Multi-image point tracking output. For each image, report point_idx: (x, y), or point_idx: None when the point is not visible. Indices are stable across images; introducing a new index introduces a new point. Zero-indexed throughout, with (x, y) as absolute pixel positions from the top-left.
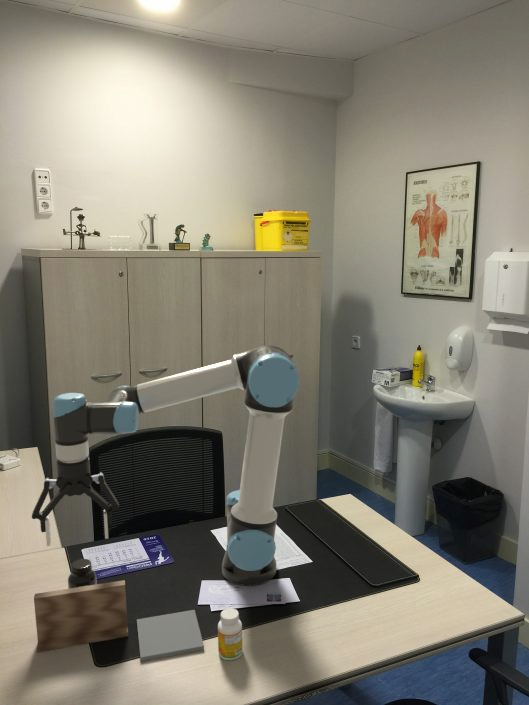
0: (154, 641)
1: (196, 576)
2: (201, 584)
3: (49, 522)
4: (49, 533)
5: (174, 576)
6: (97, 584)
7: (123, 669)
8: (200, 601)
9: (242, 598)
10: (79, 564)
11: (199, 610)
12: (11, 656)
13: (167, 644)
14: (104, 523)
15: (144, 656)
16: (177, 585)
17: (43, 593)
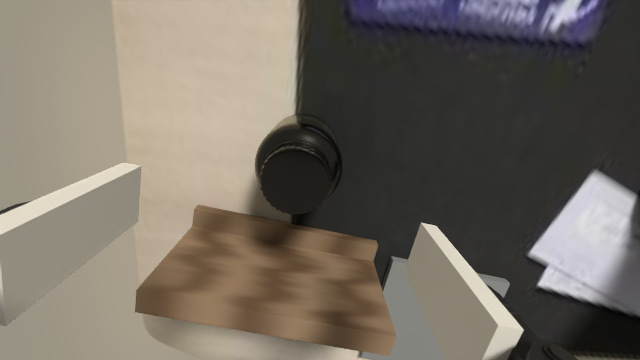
0: (398, 333)
1: (593, 149)
2: (580, 189)
3: (50, 225)
4: (95, 244)
5: (548, 121)
6: (318, 323)
7: (329, 354)
8: (538, 247)
9: (615, 277)
10: (289, 184)
11: (518, 274)
12: (144, 242)
13: (415, 349)
14: (435, 333)
15: (368, 357)
16: (531, 165)
17: (162, 299)
